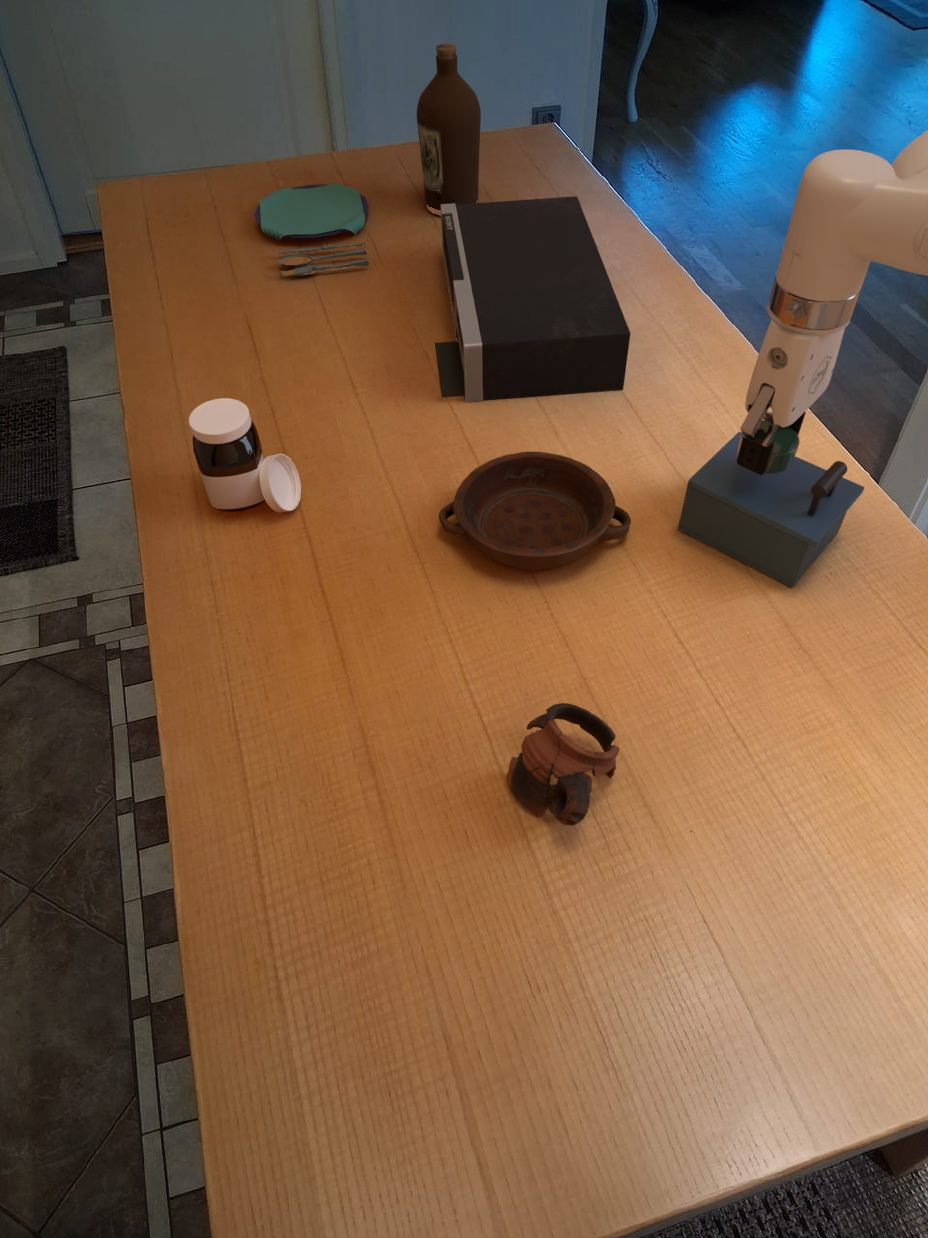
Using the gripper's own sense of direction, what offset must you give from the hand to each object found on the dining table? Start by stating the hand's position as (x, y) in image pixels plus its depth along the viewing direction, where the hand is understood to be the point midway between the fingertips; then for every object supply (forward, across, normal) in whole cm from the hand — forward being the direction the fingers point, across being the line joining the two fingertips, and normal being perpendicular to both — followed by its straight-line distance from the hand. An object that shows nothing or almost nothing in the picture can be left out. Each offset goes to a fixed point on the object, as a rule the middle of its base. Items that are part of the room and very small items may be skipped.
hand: (766, 451), depth 96 cm
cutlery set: (+12, +18, +92) cm, 95 cm away
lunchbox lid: (+4, 0, -2) cm, 5 cm away
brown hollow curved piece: (+11, -41, -4) cm, 43 cm away
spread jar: (+12, -33, +49) cm, 60 cm away
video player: (+11, +18, +49) cm, 54 cm away
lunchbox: (+11, 0, -2) cm, 11 cm away
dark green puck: (+1, 0, 0) cm, 1 cm away
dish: (+11, -16, +19) cm, 27 cm away
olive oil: (+11, +40, +81) cm, 91 cm away
